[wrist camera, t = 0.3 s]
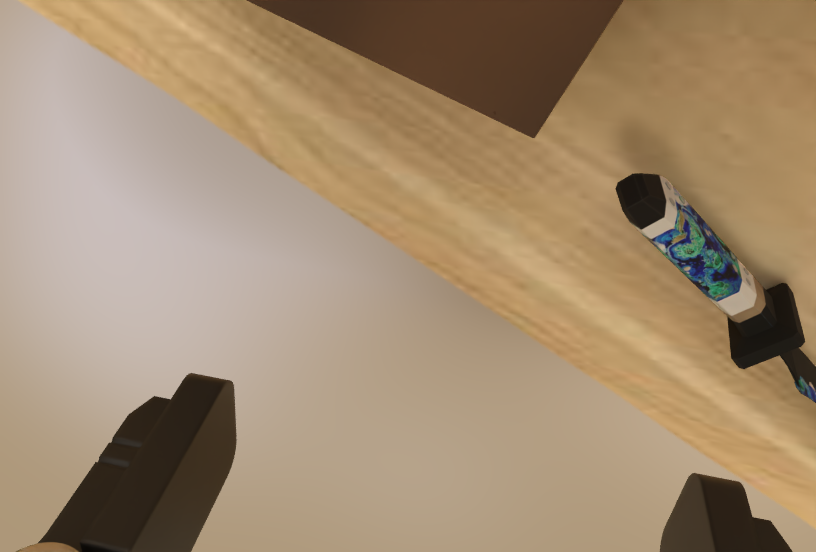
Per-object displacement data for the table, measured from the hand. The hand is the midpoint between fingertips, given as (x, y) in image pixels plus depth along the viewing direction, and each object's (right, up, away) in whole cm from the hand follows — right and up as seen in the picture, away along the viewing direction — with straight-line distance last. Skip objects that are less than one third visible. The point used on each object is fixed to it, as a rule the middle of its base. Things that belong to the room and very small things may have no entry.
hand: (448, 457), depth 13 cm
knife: (+19, 0, +25) cm, 31 cm away
